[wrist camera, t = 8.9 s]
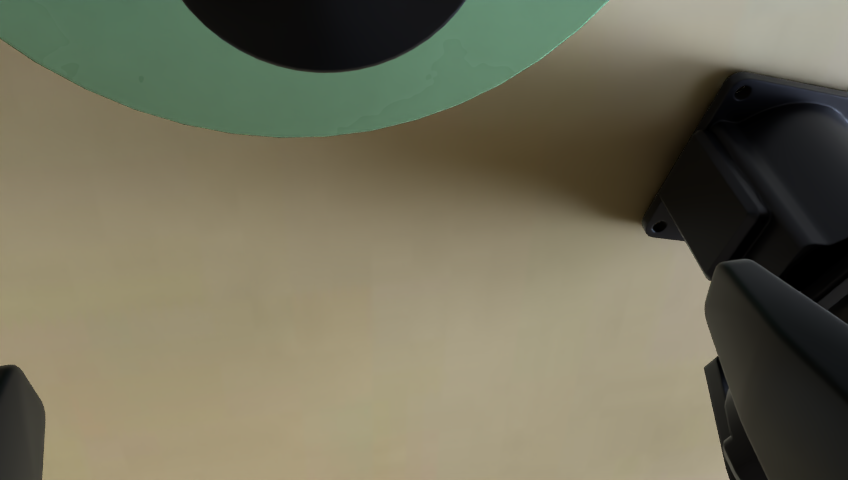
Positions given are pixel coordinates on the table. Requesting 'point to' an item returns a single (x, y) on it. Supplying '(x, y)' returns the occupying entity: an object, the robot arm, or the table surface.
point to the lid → (290, 56)
